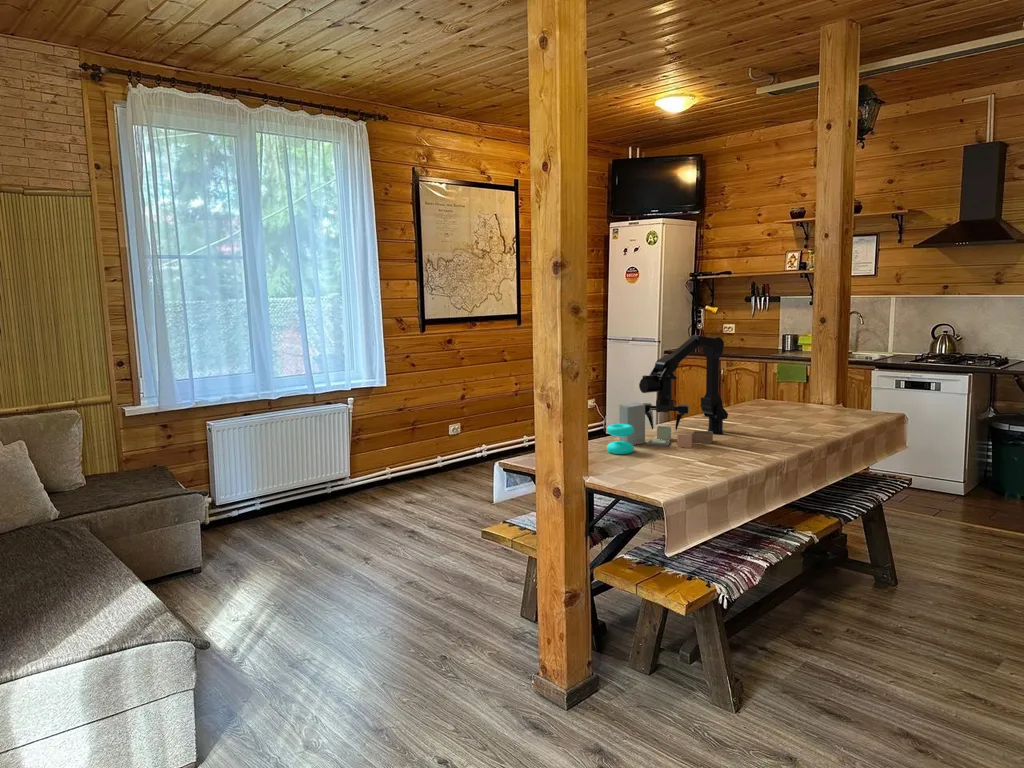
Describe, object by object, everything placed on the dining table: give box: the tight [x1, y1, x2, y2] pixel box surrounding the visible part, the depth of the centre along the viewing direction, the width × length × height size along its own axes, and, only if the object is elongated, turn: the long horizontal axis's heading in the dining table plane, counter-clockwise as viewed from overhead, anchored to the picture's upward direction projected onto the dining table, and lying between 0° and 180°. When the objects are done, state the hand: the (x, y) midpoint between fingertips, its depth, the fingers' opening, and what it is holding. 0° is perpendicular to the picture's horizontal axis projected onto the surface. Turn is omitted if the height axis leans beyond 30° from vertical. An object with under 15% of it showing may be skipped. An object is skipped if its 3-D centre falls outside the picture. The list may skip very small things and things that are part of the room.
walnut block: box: [692, 430, 714, 445], centre depth 276 cm, size 7×7×4 cm
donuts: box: [606, 423, 635, 455], centre depth 262 cm, size 10×10×10 cm
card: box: [646, 439, 671, 447], centre depth 275 cm, size 8×8×1 cm
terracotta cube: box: [676, 431, 693, 449], centre depth 269 cm, size 5×5×5 cm
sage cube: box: [656, 425, 672, 441], centre depth 283 cm, size 5×5×5 cm
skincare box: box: [618, 401, 646, 446], centre depth 275 cm, size 8×7×16 cm
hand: (664, 429), depth 282 cm, fingers open, 9 cm apart
